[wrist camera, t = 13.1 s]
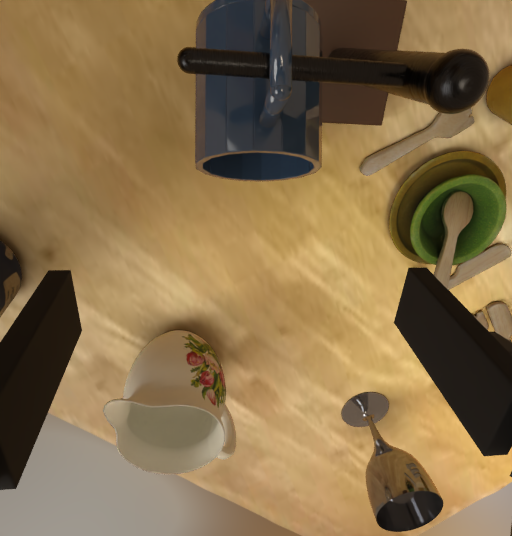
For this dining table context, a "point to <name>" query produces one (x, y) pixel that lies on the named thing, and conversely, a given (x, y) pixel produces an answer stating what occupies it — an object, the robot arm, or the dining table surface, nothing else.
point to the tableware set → (453, 203)
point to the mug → (259, 93)
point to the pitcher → (173, 407)
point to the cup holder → (361, 64)
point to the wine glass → (393, 472)
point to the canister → (8, 276)
